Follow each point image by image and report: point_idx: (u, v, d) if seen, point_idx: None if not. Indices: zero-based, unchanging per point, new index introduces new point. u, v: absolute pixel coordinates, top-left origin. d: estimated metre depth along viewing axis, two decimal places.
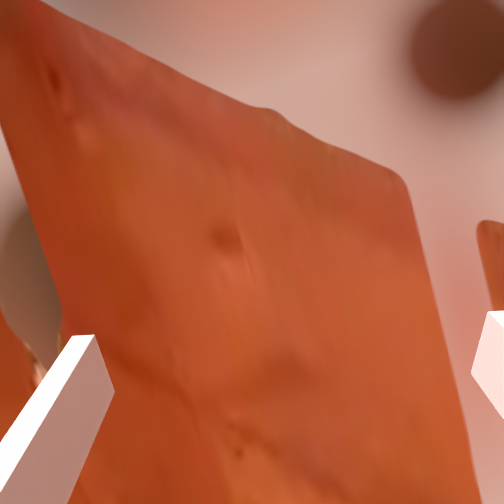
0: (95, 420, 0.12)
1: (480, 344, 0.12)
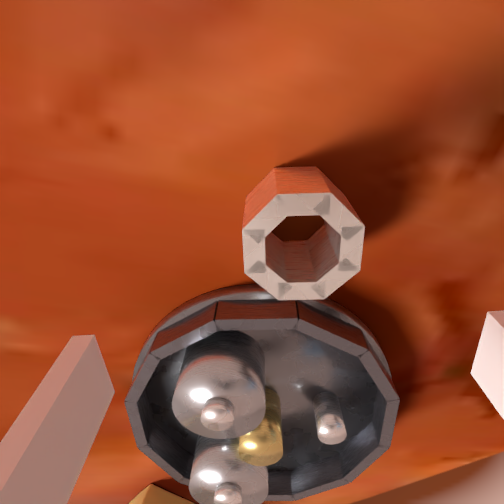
0: (96, 420, 0.12)
1: (480, 344, 0.12)
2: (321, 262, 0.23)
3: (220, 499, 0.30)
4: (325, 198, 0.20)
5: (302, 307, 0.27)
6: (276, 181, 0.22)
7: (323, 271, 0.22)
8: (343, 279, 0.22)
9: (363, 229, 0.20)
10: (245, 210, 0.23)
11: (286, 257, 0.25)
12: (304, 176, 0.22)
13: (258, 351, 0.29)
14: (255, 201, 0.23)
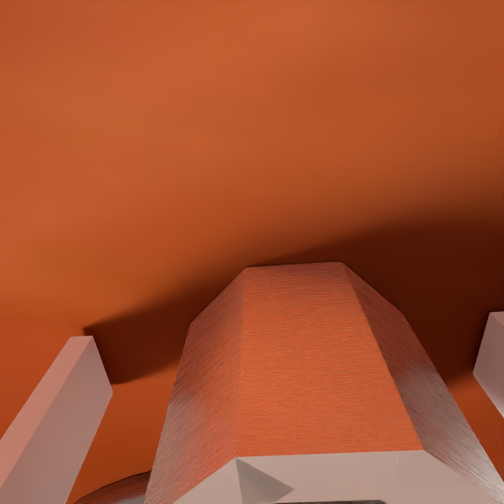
0: (94, 421, 0.12)
1: (481, 345, 0.12)
2: None
3: None
4: (403, 464, 0.06)
5: None
6: (243, 346, 0.08)
7: None
8: None
9: None
10: (172, 397, 0.09)
11: None
12: (318, 317, 0.08)
13: None
14: (193, 385, 0.09)
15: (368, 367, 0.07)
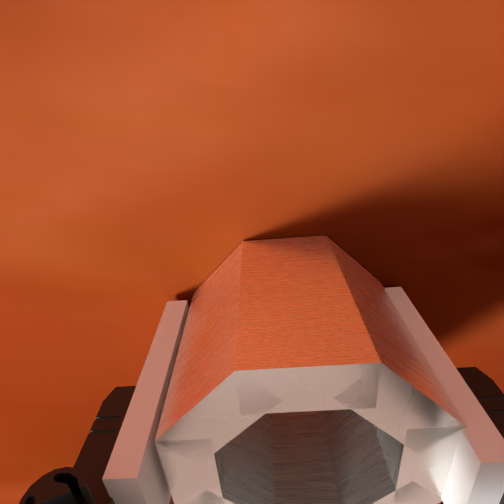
0: None
1: None
2: (349, 453, 0.11)
3: None
4: (366, 375, 0.07)
5: None
6: (240, 298, 0.09)
7: (356, 490, 0.10)
8: None
9: None
10: (180, 348, 0.11)
11: (274, 417, 0.13)
12: (304, 277, 0.10)
13: None
14: (198, 335, 0.10)
15: (343, 310, 0.09)
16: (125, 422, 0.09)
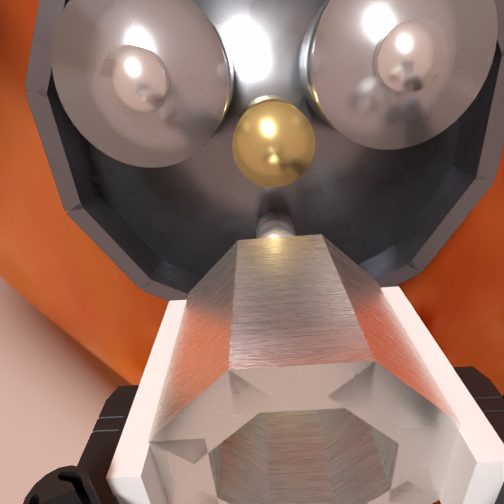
0: None
1: None
2: (345, 453, 0.11)
3: (140, 63, 0.13)
4: (360, 374, 0.07)
5: None
6: (235, 297, 0.09)
7: (351, 489, 0.10)
8: None
9: (456, 431, 0.08)
10: (175, 347, 0.11)
11: (270, 416, 0.13)
12: (299, 276, 0.10)
13: None
14: (192, 335, 0.10)
15: (337, 309, 0.09)
16: (128, 420, 0.09)
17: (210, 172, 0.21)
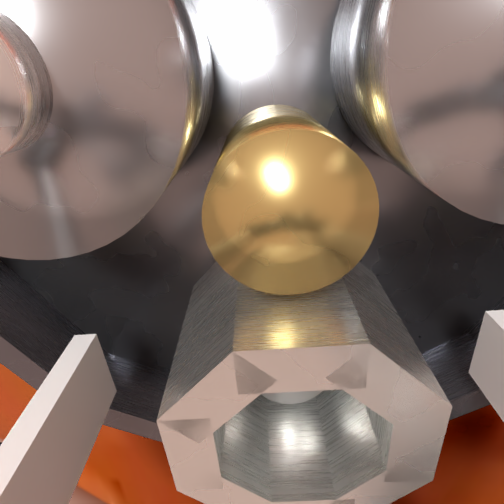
0: (98, 419, 0.12)
1: (477, 343, 0.12)
2: (343, 438, 0.11)
3: None
4: (356, 356, 0.08)
5: None
6: (238, 287, 0.10)
7: (349, 471, 0.10)
8: (396, 494, 0.10)
9: (448, 412, 0.08)
10: (181, 336, 0.11)
11: (272, 404, 0.13)
12: None
13: None
14: (198, 323, 0.11)
15: (336, 298, 0.09)
16: None
17: (178, 229, 0.13)
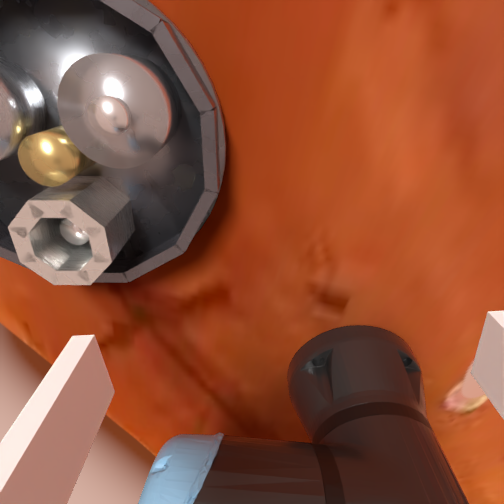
0: (96, 420, 0.12)
1: (480, 344, 0.12)
2: (93, 255, 0.28)
3: None
4: (66, 204, 0.25)
5: None
6: (46, 189, 0.27)
7: (87, 262, 0.28)
8: (101, 269, 0.27)
9: (103, 230, 0.26)
10: None
11: (77, 250, 0.30)
12: (75, 185, 0.28)
13: None
14: None
15: (75, 192, 0.26)
16: None
17: None
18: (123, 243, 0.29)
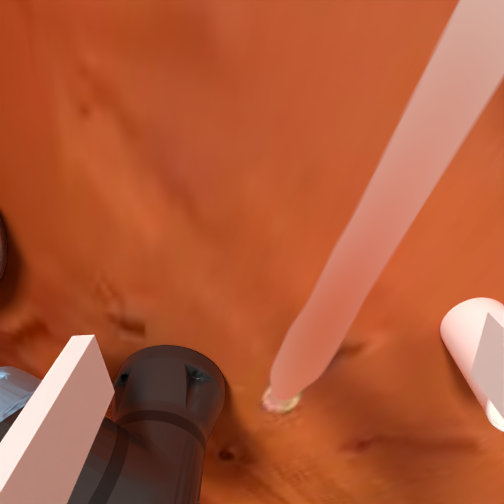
0: (96, 420, 0.12)
1: (480, 344, 0.12)
2: None
3: None
4: None
5: None
6: None
7: None
8: None
9: None
10: None
11: None
12: None
13: None
14: None
15: None
16: None
17: None
18: None
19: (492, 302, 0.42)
